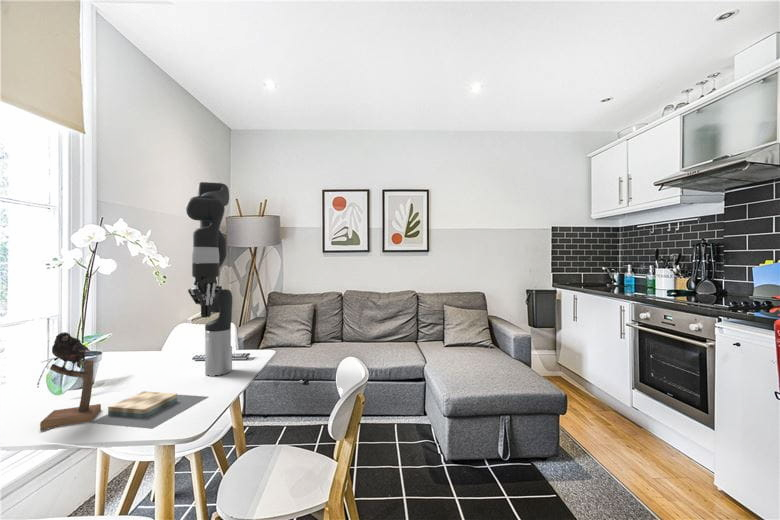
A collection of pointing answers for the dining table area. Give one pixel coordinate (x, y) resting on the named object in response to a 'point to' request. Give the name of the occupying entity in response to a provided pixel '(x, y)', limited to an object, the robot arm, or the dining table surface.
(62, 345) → the bird figurine
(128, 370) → the dining table surface
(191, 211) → the robot arm
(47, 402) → the dining table surface
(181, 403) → the mat
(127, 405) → the board
